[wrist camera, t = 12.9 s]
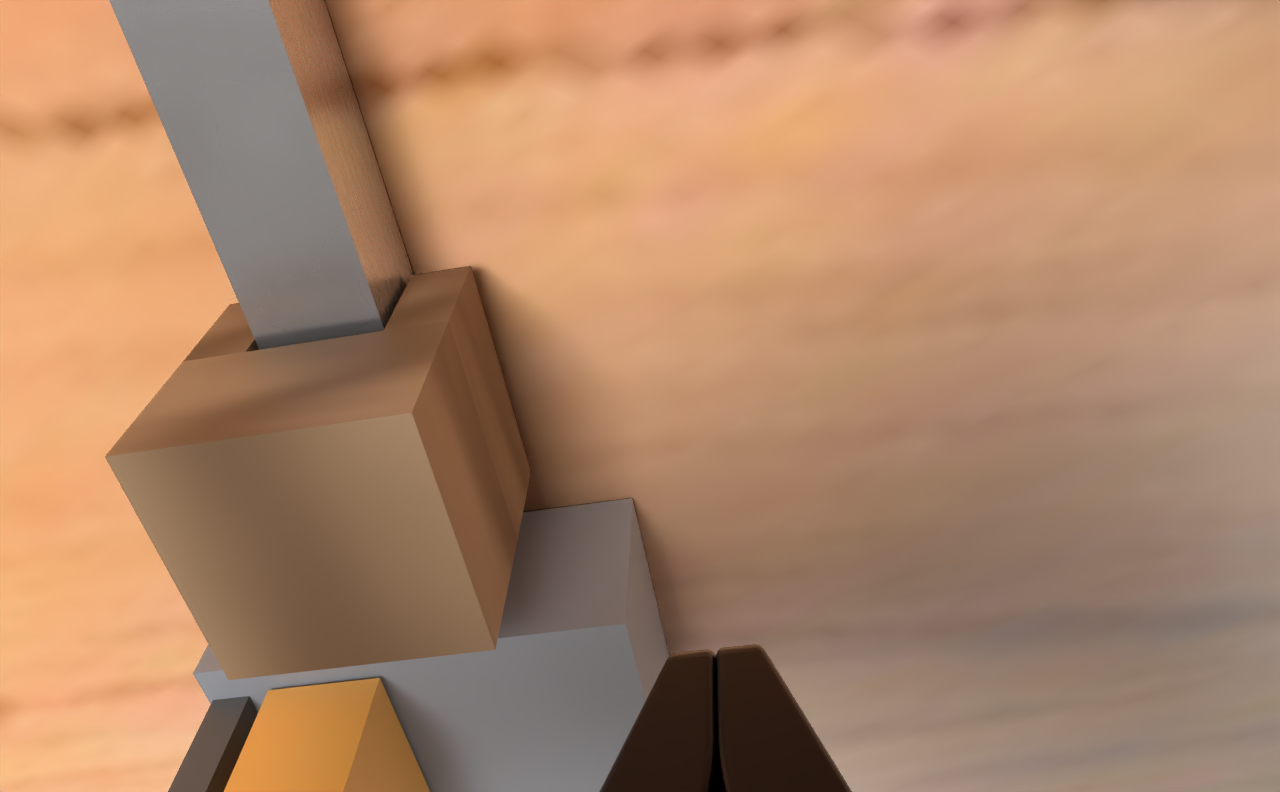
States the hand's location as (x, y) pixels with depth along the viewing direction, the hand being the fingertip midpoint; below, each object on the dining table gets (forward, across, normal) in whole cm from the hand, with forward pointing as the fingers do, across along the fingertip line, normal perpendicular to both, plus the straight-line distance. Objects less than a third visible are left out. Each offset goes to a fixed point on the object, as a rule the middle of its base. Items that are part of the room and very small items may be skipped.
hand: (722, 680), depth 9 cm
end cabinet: (+12, +7, +9) cm, 17 cm away
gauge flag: (+8, +9, +9) cm, 15 cm away
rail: (+12, +7, -1) cm, 14 cm away
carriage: (+12, +7, +3) cm, 14 cm away
